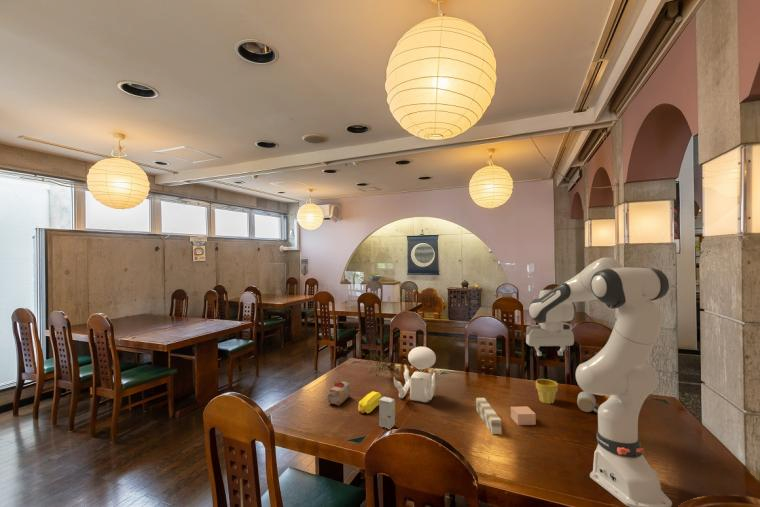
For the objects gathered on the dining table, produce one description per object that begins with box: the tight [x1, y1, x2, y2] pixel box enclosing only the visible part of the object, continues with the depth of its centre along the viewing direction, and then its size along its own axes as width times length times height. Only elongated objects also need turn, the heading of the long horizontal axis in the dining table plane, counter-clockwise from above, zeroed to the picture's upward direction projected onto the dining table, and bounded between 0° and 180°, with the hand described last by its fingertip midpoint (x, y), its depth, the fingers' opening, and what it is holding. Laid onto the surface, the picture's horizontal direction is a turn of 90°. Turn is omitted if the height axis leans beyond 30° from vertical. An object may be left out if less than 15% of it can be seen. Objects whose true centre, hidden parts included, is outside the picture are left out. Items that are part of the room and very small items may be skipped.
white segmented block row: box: [475, 397, 503, 435], centre depth 160 cm, size 24×4×6 cm, turn 0°
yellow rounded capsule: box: [357, 390, 383, 414], centre depth 177 cm, size 18×7×8 cm
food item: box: [326, 381, 351, 407], centre depth 186 cm, size 14×8×10 cm, turn 160°
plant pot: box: [535, 378, 559, 405], centre depth 181 cm, size 10×10×10 cm
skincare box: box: [378, 396, 396, 430], centre depth 157 cm, size 6×4×12 cm
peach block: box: [510, 406, 537, 426], centre depth 160 cm, size 8×8×5 cm
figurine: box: [393, 346, 437, 403], centre depth 188 cm, size 24×20×28 cm
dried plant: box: [334, 327, 403, 376], centre depth 221 cm, size 30×31×45 cm
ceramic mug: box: [576, 390, 600, 414], centre depth 169 cm, size 11×8×8 cm
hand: (549, 355), depth 157 cm, fingers open, 8 cm apart
